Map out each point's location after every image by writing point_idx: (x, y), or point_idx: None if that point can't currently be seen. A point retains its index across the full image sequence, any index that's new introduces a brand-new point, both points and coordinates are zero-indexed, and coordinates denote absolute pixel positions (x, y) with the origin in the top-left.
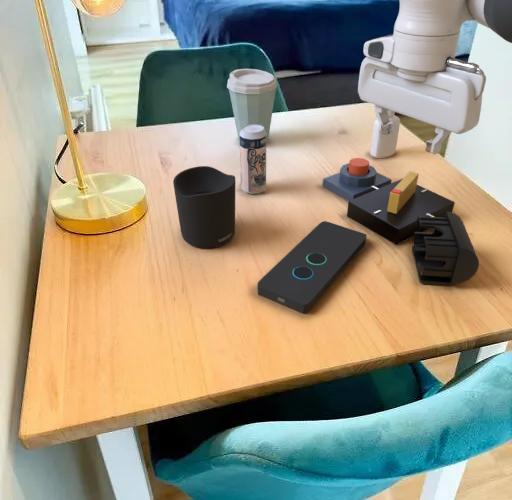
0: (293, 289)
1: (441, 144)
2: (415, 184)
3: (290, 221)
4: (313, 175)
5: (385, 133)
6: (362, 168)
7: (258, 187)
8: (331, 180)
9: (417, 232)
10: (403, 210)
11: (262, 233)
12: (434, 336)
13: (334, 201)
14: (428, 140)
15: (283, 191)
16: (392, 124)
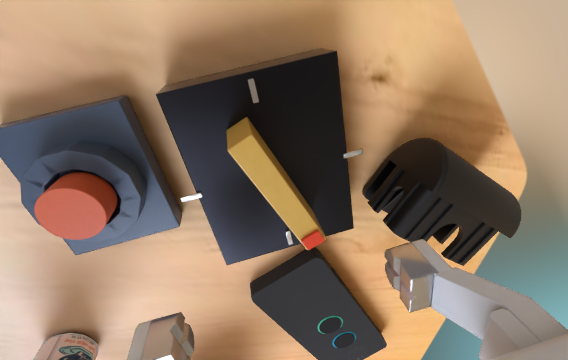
0: (361, 350)
1: (441, 258)
2: (257, 136)
3: (207, 315)
4: (11, 239)
5: (193, 341)
6: (109, 214)
7: (92, 355)
8: (90, 242)
9: (379, 207)
10: (306, 189)
11: (225, 347)
12: (479, 250)
13: (162, 240)
14: (410, 307)
15: (92, 306)
16: (174, 351)
